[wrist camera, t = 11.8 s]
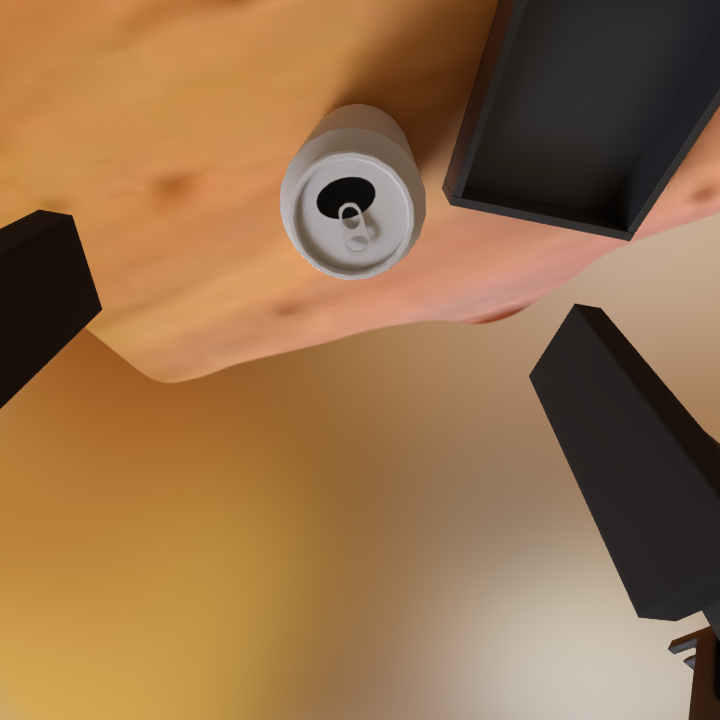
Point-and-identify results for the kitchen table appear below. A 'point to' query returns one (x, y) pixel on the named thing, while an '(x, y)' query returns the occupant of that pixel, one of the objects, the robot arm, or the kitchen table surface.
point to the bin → (585, 110)
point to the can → (353, 194)
